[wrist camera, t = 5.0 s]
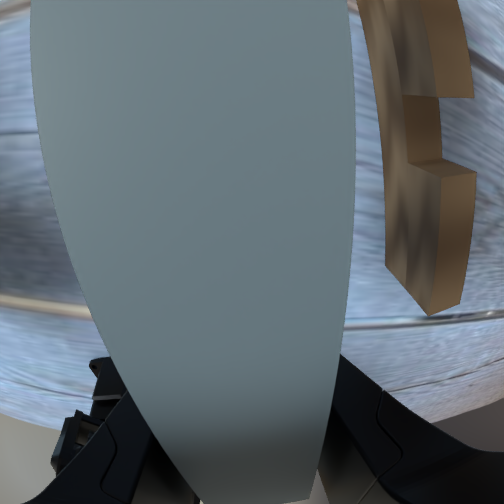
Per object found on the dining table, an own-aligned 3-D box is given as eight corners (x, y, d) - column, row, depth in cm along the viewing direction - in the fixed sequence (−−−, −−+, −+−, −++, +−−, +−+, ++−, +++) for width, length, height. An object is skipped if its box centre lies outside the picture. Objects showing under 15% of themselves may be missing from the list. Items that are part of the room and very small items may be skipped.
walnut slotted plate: (413, 257, 21) (459, 303, 16) (385, 265, 21) (428, 316, 16) (383, -25, 12) (439, -54, 7) (348, -29, 12) (397, -65, 7)
